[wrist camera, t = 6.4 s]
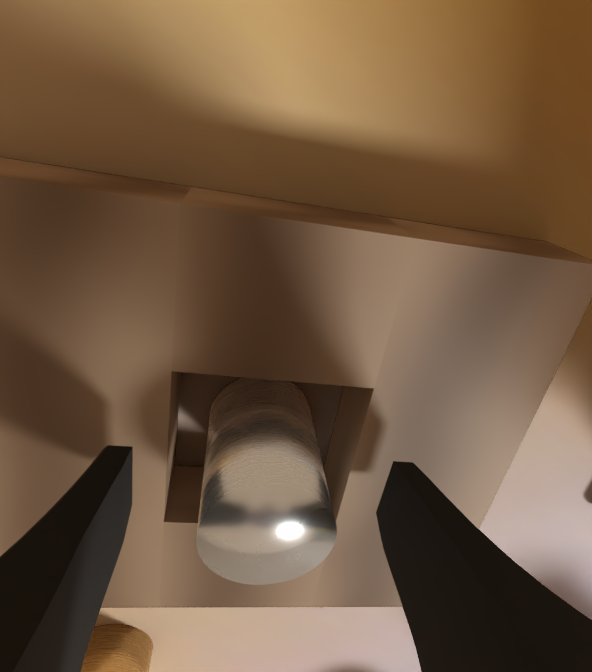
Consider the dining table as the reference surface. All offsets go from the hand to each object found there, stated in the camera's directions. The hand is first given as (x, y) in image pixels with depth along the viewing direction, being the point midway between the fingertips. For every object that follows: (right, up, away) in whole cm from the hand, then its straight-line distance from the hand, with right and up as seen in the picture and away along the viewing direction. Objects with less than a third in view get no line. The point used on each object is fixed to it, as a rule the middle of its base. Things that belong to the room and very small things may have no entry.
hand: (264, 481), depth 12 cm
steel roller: (0, +1, +3) cm, 3 cm away
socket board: (0, +1, +3) cm, 3 cm away
